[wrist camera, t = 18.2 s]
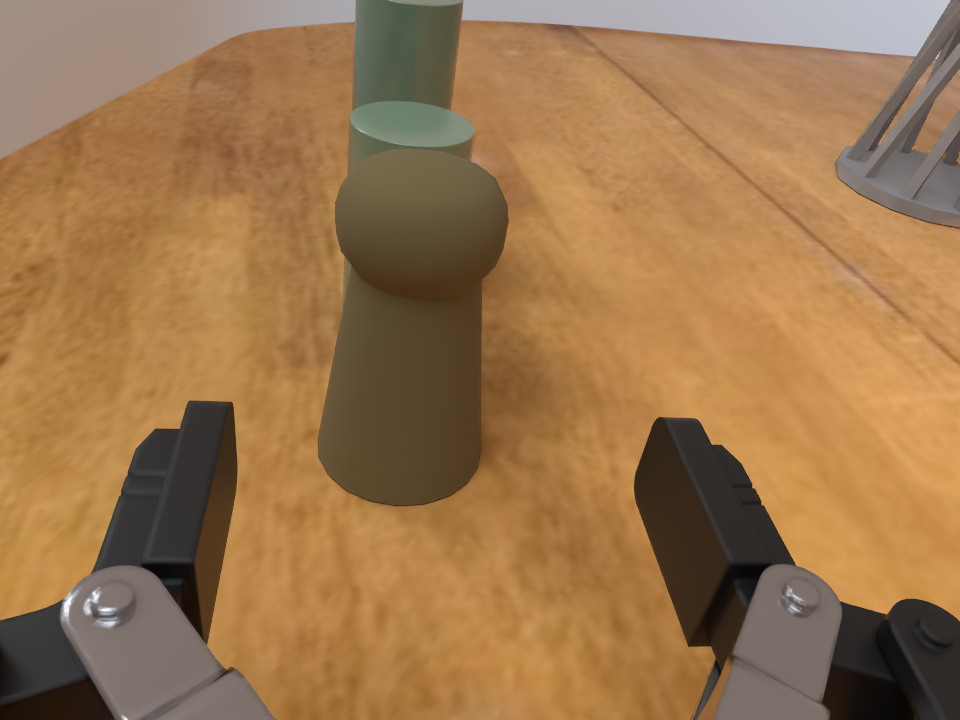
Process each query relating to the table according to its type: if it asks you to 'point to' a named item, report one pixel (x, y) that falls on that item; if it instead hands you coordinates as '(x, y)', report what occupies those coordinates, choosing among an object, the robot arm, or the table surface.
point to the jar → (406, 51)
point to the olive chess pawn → (410, 325)
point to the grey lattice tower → (913, 139)
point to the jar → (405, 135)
